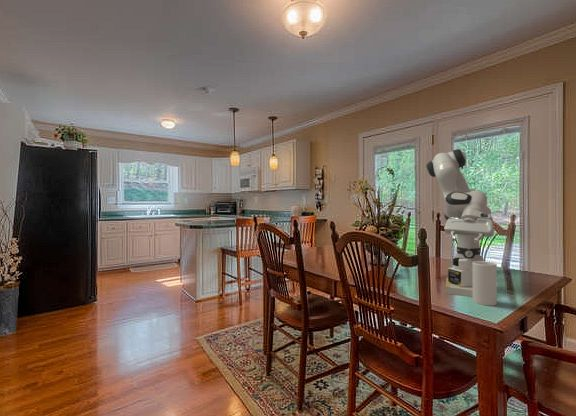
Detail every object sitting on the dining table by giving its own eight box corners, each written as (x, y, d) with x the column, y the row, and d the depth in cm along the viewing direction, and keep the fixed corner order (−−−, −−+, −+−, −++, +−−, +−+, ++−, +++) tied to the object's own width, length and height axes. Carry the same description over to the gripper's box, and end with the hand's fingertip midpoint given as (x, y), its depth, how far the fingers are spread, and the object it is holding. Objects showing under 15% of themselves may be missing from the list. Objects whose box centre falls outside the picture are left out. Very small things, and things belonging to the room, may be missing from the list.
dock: (446, 283, 151) (446, 277, 151) (474, 286, 145) (474, 280, 145) (445, 293, 135) (445, 286, 135) (477, 297, 129) (477, 290, 129)
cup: (468, 298, 127) (468, 260, 127) (489, 299, 127) (489, 261, 126) (479, 305, 119) (478, 265, 119) (501, 305, 118) (501, 265, 118)
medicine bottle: (447, 283, 140) (448, 257, 140) (459, 281, 143) (460, 256, 142) (460, 287, 134) (461, 260, 133) (473, 285, 136) (473, 259, 135)
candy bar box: (381, 273, 174) (381, 245, 174) (390, 273, 173) (390, 245, 173) (383, 278, 163) (383, 248, 163) (393, 278, 162) (393, 248, 162)
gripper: (446, 213, 152) (439, 234, 145) (495, 215, 137) (488, 239, 130) (450, 221, 155) (442, 242, 149) (497, 224, 140) (491, 247, 134)
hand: (464, 241), depth 139 cm, fingers open, 8 cm apart
